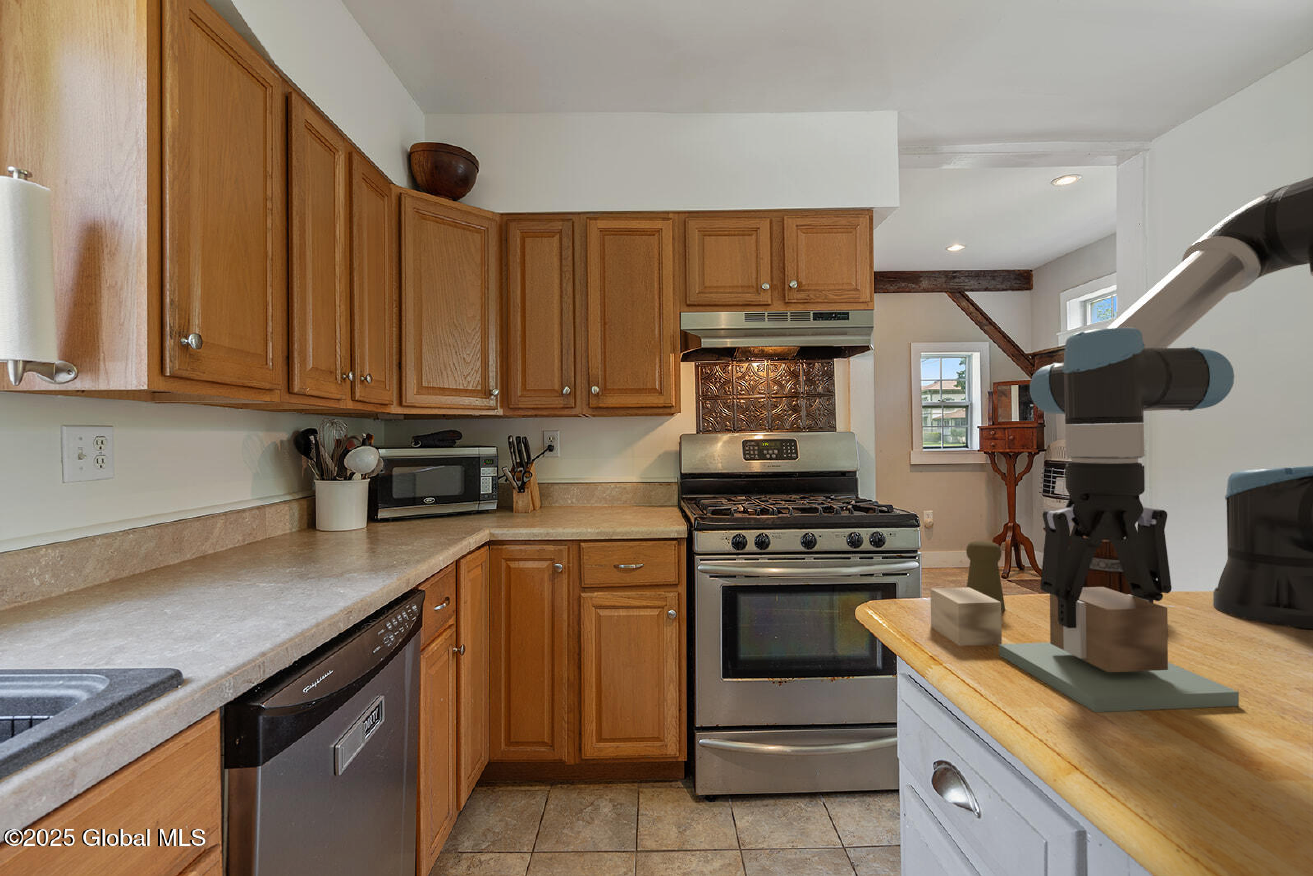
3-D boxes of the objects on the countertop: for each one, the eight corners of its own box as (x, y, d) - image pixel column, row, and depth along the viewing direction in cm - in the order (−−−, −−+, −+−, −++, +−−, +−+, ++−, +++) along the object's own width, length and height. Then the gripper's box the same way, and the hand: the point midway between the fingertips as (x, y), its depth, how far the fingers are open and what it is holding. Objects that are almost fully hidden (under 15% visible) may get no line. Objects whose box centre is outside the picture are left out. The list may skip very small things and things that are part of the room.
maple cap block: (969, 626, 90) (969, 587, 90) (1001, 645, 83) (1001, 602, 82) (931, 627, 90) (930, 588, 90) (959, 646, 82) (958, 603, 82)
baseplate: (1115, 651, 79) (1115, 640, 79) (1238, 706, 63) (1238, 692, 63) (999, 655, 78) (999, 644, 78) (1094, 712, 62) (1094, 697, 62)
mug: (1156, 624, 89) (1132, 524, 91) (1047, 620, 99) (1028, 530, 101) (1168, 608, 97) (1146, 516, 98) (1066, 606, 107) (1048, 522, 109)
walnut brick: (1103, 641, 76) (1102, 586, 76) (1167, 670, 67) (1167, 607, 67) (1050, 643, 75) (1049, 588, 75) (1107, 672, 66) (1107, 609, 66)
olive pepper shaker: (982, 613, 96) (981, 545, 96) (956, 603, 102) (955, 539, 102) (1014, 610, 98) (1013, 543, 98) (986, 600, 104) (985, 537, 103)
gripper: (1155, 457, 75) (1157, 639, 75) (1002, 460, 74) (1005, 644, 74) (1214, 460, 67) (1216, 662, 68) (1044, 463, 66) (1047, 668, 67)
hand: (1106, 652), depth 71 cm, fingers closed on walnut brick, 7 cm apart
